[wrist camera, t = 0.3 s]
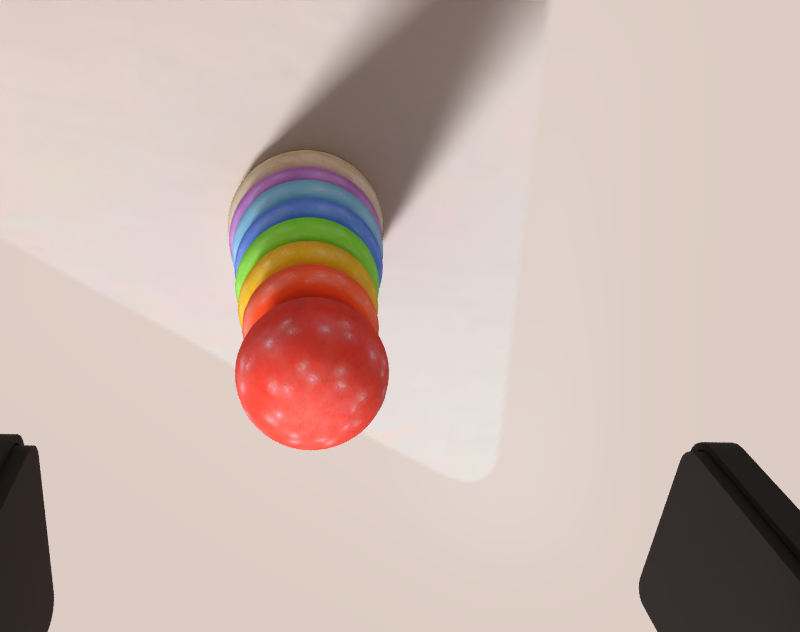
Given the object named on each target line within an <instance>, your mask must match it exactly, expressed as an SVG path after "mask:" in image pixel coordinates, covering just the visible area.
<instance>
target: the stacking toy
mask: <svg viewBox="0 0 800 632" xmlns="http://www.w3.org/2000/svg"><path fill="white" fill-rule="evenodd" d="M228 232H229V245H230V252H231V257H232V260H233V263H234V268H235V278H236V283H235V287H236V296H237V301H238V314H239V320H240V324H241V327H242V333H243V339H244V340H243V342H242V345H241V347H240V350H239V352H238V355H237V360H236V368H235V381H236V387H237V392H238V396H239V398H240V401H241V404H242V406H243V408H244V410H245V412H246V414H247V416H248V417H249V419H250V420H251V421H252V422H253V423H254V424H255V426H256V427H257V428H258V429H259V430H260V431H262V432H263V433H264V434H265V435H266V436H268V437H269V438H271V439H272V440H274V441H276V442H278V443H280V444H283V445H285V446H288V447H291V448H296V449H301V450H320V449H327V448H330V447H334V446H337V445H340V444H342V443H344V442H346V441H348V440H350V439H352V438H353V437H355V436H356V435H358V434H359V433H361V432H362V431H363V430H364V429H365V428H366V427H367V426H368V425H369V424H370V422H371V421H372V420H373V419H374V417H375V416H376V414H377V413H378V411H379V409H380V408H381V406H382V403H383V401H384V399H385V394H386V390H387V386H388V379H389V367H388V359H387V355H386V351H385V348H384V346H383V344H382V341H381V339H380V337H379V335H378V331H379V325H378V317H377V313H378V300H377V298H378V292H379V287H380V283H381V279H382V269H383V264H382V259H383V245H382V234H383V217H382V210H381V207H380V203H379V200H378V198H377V196H376V193H375V191H374V190H373V188H372V186H371V185H370V183H369V182H368V181H367V179H366V178H365V177H364V176H363V175H362V174H361V173H360V172H359V171H358V170H357V169H356V168H355V167H353V166H352V165H351V164H349V163H348V162H346V161H345V160H343V159H341V158H339V157H336V156H334V155H331V154H328V153H325V152H320V151H313V150H297V151H290V152H286V153H282V154H279V155H277V156H274V157H272V158H270V159H268V160H266V161H264V162H263V163H261V164H260V165H258V166H257V167H256V168H254V169H253V170H252V171H251V172H250V173H249V174H248V175H247V176H246V178H245V179H244V180H243V181H242V183H241V184H240V186H239V187H238V189H237V191H236V193H235V195H234V197H233V200H232V203H231V207H230V211H229V218H228Z"/></svg>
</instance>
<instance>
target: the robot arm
mask: <svg viewBox="0 0 800 632" xmlns="http://www.w3.org/2000/svg"><path fill="white" fill-rule="evenodd" d="M45 519H46V518H45V509H44V501H43V491H42V482H41V473H40V463H39V455H38V450H37V448H36V446H27V445H26V446H24V443H23V440H22V438H21V436H20V435H18V434H0V632H47V631H48V629H49V626H50V622H51V618H52V613H53V606H54V605H53V604H54V591H53V582H52V573H51V564H50V555H49V545H48V536H47V527H46V520H45ZM639 594H640V598H641V602H642V604H643V606H644V608H645V609H646V612H647V613H648V615H649V617H650V619H651V621H652V623H653V624H654V626H655V628H656V630H657V632H800V510H799V509H798V508H797V507H796V506H795V505H794V504H793V503H792V501H791V500H790V499H789V498H788V497H787V496H786V495H785V494H784V493H783V492H782V491H781V489H779V487H778V486H777V485H776V484H775V483H774V482H773V481H772V480H771V479H770V477H769V476H768V475H767V474H766V473H765V472H764V471H763V470H762V469H761V468H760V467H759V466H758V464H757V463H756V462H755V461H754V460H753V459H752V458H751V457H750V456H749V455H748V454H747V453H746V451H745V450H744V449H743V448H742V447H740V446H739V445H738V444H735V443H717V442H715V443H714V442H711V443H710V442H701V443H697V444H695V445H694V447H692V449H691V451H690V452H687V453H685V454H684V455H683V456H682V458H681V460H680V463H679V466H678V469H677V472H676V475H675V478H674V481H673V484H672V487H671V490H670V493H669V495H668V498H667V501H666V504H665V507H664V510H663V513H662V516H661V519H660V522H659V525H658V527H657V530H656V533H655V537H654V539H653V542H652V545H651V548H650V551H649V554H648V557H647V560H646V563H645V565H644V568H643V572H642V574H641V577H640V581H639Z"/></svg>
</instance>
